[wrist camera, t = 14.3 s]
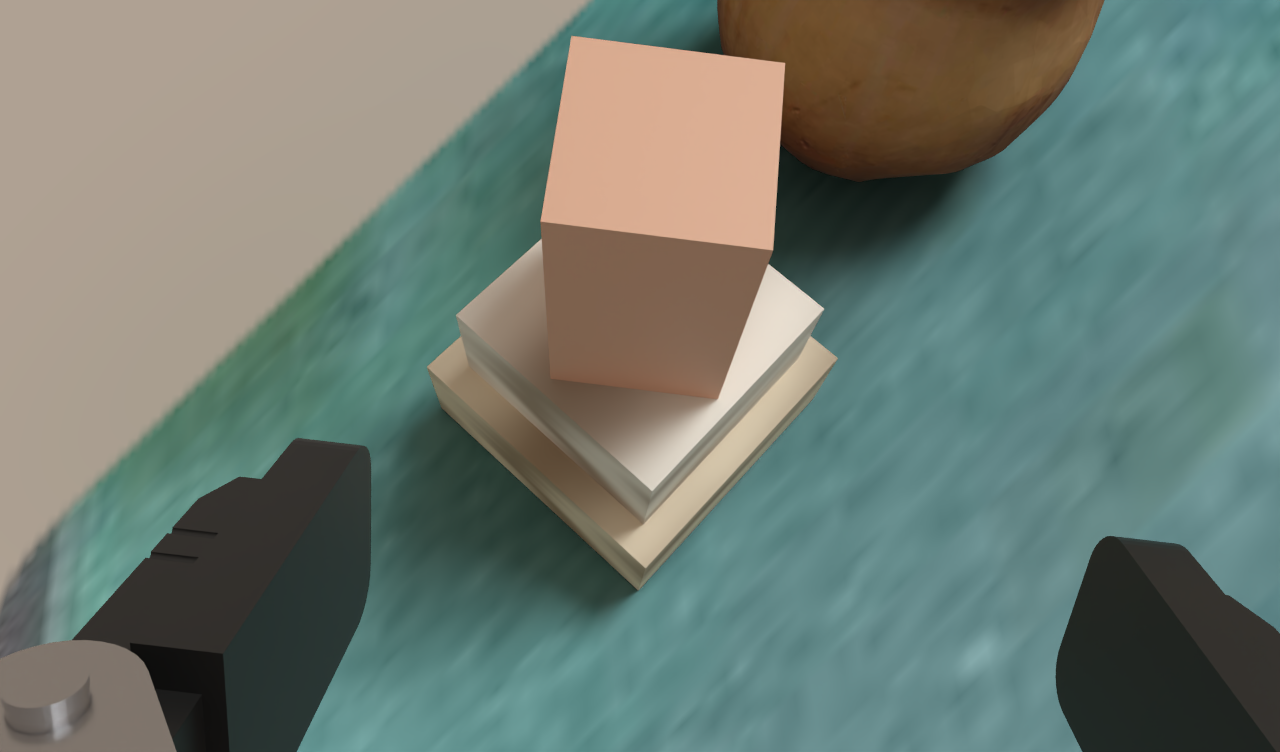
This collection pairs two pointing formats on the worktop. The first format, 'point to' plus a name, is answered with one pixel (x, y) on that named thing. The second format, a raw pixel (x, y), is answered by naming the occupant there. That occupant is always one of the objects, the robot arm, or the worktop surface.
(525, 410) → the beige stepped block
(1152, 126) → the worktop surface
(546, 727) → the worktop surface
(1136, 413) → the worktop surface
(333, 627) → the robot arm
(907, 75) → the butternut squash
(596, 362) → the salmon pink rectangular block
